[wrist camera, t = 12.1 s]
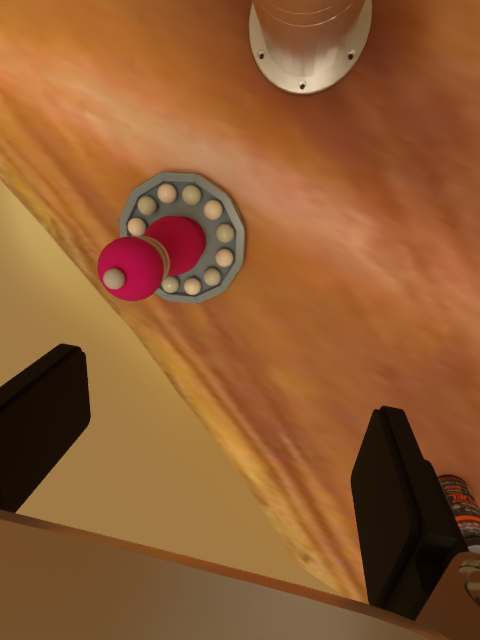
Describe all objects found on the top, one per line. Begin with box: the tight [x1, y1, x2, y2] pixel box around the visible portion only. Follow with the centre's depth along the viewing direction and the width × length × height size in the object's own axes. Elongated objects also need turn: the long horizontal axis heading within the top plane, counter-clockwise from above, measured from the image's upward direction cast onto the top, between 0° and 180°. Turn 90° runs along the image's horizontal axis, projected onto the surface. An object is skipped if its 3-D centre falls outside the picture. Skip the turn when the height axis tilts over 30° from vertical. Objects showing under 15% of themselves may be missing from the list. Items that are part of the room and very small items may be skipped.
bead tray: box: [119, 172, 246, 304], centre depth 47 cm, size 17×17×4 cm
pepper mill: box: [98, 216, 206, 301], centre depth 38 cm, size 7×7×20 cm
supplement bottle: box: [438, 476, 480, 554], centre depth 52 cm, size 6×6×11 cm
